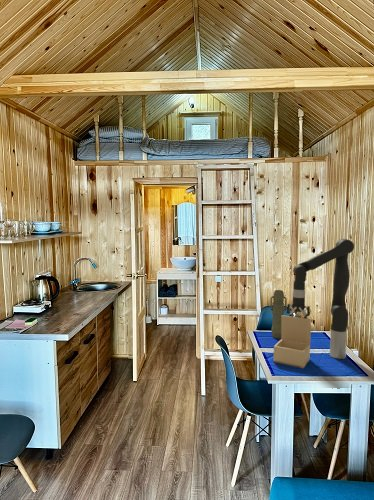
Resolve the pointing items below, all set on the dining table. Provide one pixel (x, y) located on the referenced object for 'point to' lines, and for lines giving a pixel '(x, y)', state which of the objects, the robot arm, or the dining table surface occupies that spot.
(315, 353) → the dining table surface
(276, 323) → the thermos
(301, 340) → the carton flap
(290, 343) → the carton
